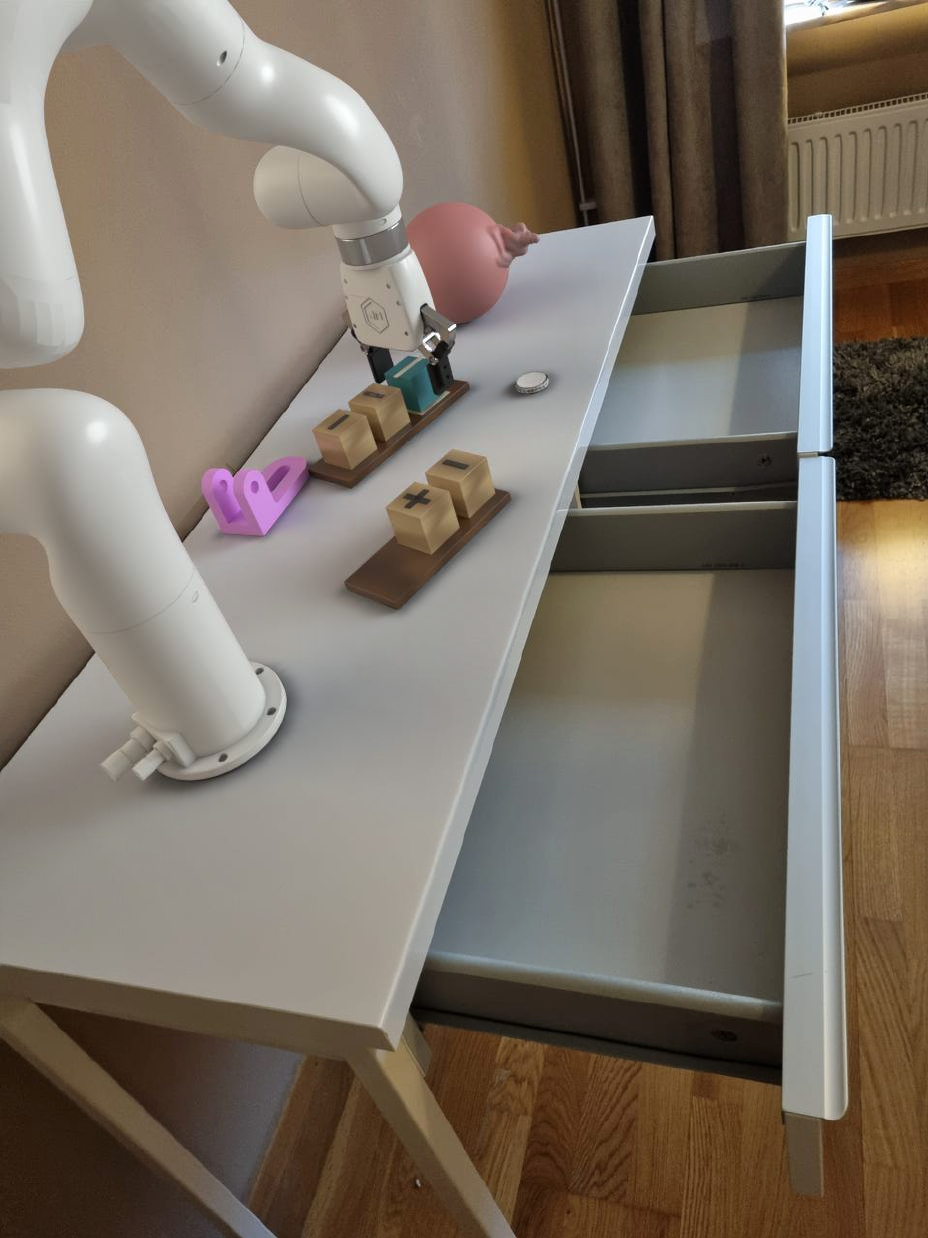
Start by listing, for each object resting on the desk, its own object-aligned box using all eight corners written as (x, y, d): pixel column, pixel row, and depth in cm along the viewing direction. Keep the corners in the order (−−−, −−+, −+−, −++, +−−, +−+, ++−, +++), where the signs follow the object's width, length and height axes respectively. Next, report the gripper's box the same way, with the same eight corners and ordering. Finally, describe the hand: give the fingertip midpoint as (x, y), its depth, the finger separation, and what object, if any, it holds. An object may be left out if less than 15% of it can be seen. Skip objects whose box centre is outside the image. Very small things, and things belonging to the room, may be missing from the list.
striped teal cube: (419, 413, 106) (408, 379, 103) (392, 408, 108) (381, 374, 105) (446, 391, 108) (436, 357, 105) (419, 386, 111) (409, 352, 108)
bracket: (264, 535, 96) (239, 483, 92) (223, 533, 98) (196, 481, 94) (318, 466, 104) (298, 414, 100) (279, 465, 107) (257, 415, 102)
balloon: (539, 335, 116) (518, 215, 106) (399, 349, 123) (366, 237, 112) (560, 283, 126) (542, 170, 116) (429, 298, 133) (402, 192, 123)
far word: (351, 488, 99) (335, 446, 95) (310, 476, 103) (293, 434, 100) (470, 388, 110) (460, 347, 106) (428, 381, 114) (417, 340, 110)
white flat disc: (553, 376, 107) (552, 371, 107) (541, 393, 105) (540, 388, 104) (523, 375, 109) (522, 370, 108) (510, 392, 106) (509, 387, 106)
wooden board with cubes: (398, 610, 82) (381, 564, 78) (346, 589, 86) (327, 544, 82) (511, 499, 91) (500, 453, 87) (459, 485, 95) (447, 441, 91)
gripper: (296, 252, 99) (344, 389, 110) (409, 262, 89) (449, 411, 100) (342, 224, 102) (384, 359, 114) (455, 230, 92) (488, 378, 104)
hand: (414, 383), depth 107 cm, fingers open, 9 cm apart
